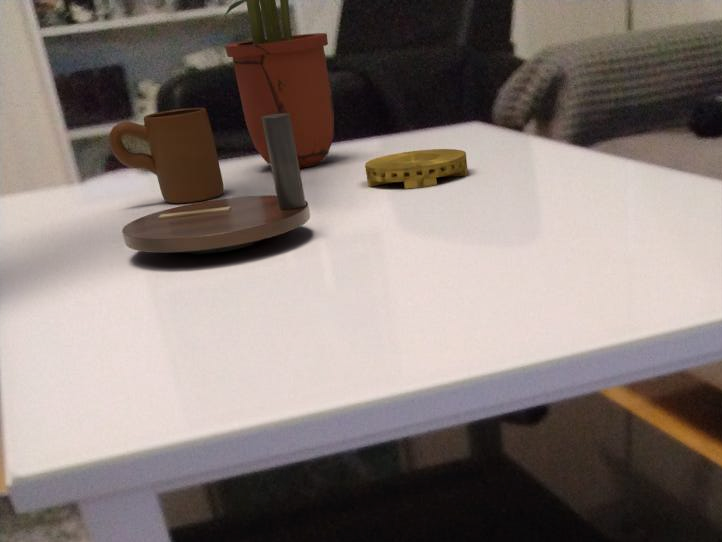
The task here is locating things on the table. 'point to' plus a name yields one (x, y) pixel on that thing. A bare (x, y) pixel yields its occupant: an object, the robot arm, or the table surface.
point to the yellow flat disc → (416, 167)
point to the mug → (174, 153)
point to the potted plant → (284, 81)
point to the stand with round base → (231, 208)
